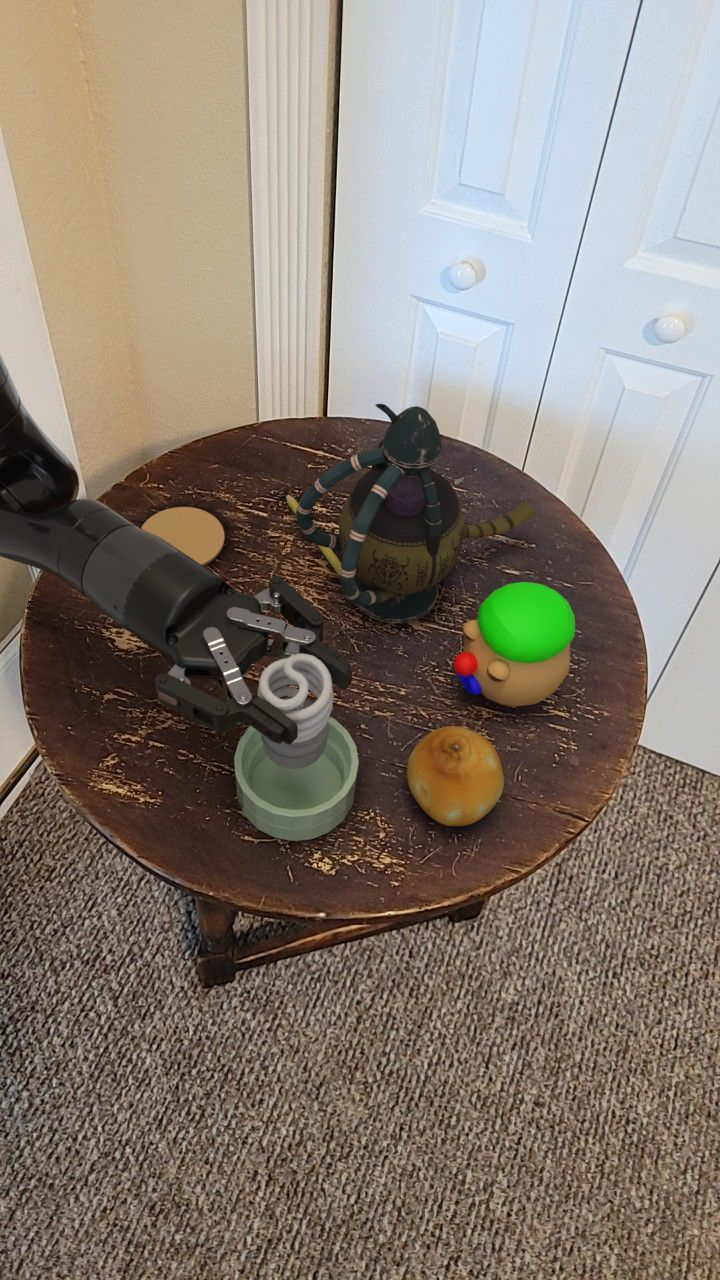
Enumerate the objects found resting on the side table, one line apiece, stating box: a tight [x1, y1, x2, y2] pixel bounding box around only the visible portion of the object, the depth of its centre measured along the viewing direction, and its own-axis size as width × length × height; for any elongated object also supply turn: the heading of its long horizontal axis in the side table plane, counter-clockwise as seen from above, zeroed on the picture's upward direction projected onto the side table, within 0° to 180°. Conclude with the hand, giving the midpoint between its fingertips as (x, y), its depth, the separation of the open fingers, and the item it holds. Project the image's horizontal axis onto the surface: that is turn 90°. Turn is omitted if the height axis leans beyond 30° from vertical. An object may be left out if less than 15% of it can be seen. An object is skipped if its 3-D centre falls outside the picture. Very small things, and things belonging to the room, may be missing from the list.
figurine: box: [453, 581, 576, 708], centre depth 84 cm, size 11×10×12 cm
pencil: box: [284, 492, 341, 578], centre depth 99 cm, size 1×14×1 cm, turn 30°
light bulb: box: [257, 654, 334, 769], centre depth 71 cm, size 6×6×12 cm
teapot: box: [295, 403, 538, 624], centre depth 87 cm, size 12×25×23 cm, turn 118°
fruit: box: [406, 725, 505, 827], centre depth 79 cm, size 8×8×8 cm
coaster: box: [140, 506, 226, 567], centre depth 98 cm, size 9×9×1 cm
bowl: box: [233, 716, 360, 842], centre depth 79 cm, size 10×10×5 cm
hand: (321, 706), depth 67 cm, fingers closed on light bulb, 5 cm apart
